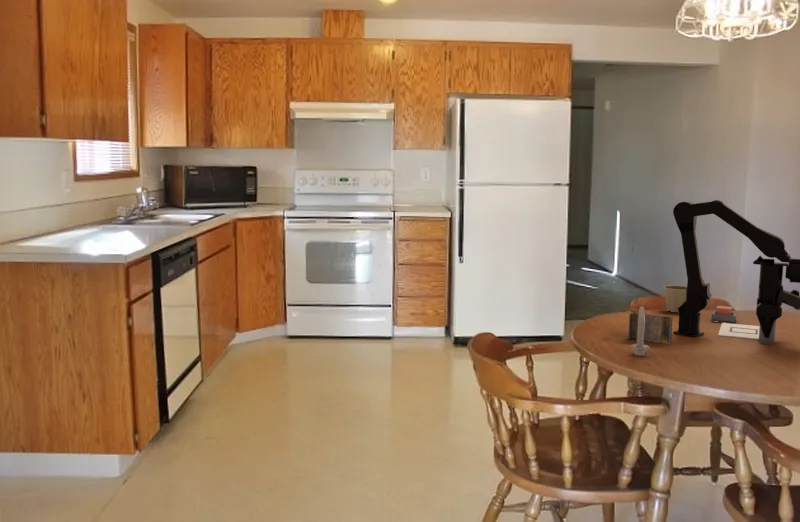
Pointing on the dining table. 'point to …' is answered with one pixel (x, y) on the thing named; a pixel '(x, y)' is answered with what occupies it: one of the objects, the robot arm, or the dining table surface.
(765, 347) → the dining table surface
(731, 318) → the button housing
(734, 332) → the paper sheet
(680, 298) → the flower pot
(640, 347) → the screw
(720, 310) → the button
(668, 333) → the bent metal bracket
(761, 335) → the grey cylinder
